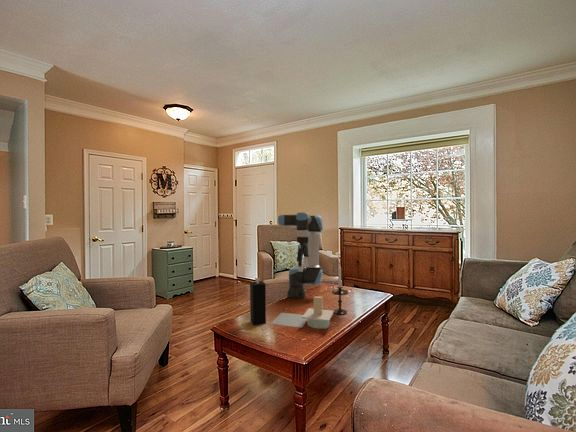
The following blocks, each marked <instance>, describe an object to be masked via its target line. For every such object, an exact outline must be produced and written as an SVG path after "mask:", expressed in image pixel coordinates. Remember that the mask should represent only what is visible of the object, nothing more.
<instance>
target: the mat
mask: <svg viewBox="0 0 576 432" xmlns="http://www.w3.org/2000/svg"><path fill="white" fill-rule="evenodd" d="M303 315H304V314H299V313H298V314H297V313H288V312H280V313H279V315H277V317H275V318H274V319H273V320H272V321H271V323H269V324H271V325H278V326H285V327H294V328H303V327H304V325H305V324H307V323H306V322H307V319H303V318H302V316H303Z"/></svg>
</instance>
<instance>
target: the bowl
mask: <svg viewBox="0 0 576 432" xmlns="http://www.w3.org/2000/svg"><path fill="white" fill-rule="evenodd" d="M306 322H307V323H306V325H308V327H310V328H312V329H325V330H326V329H328V328H329V327H330V326H331V324H330V323H331V319H330V320H329V321H321V320H312V319H307V321H306Z"/></svg>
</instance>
